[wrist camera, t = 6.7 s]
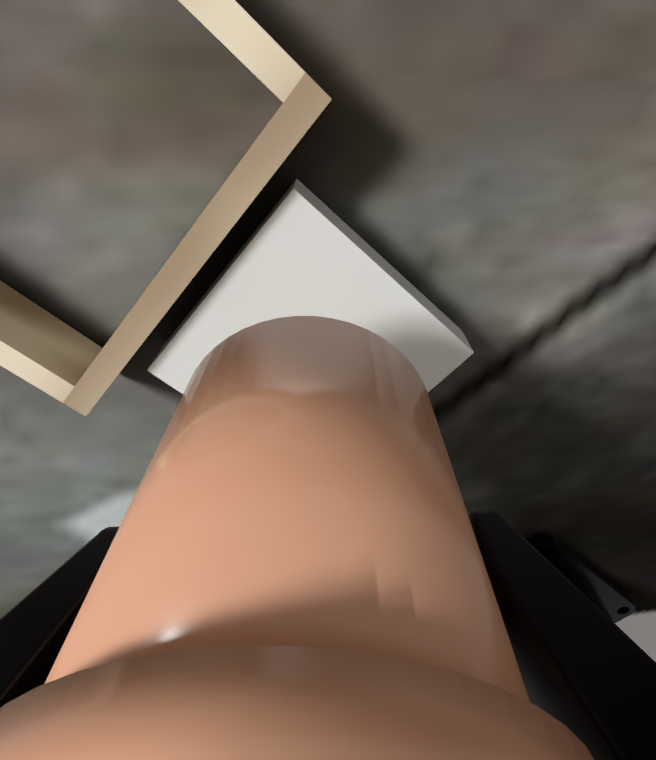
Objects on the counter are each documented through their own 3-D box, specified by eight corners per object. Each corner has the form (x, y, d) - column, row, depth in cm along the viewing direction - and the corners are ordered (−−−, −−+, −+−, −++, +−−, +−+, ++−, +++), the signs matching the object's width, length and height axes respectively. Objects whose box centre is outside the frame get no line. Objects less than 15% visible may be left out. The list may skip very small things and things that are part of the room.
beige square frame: (330, 97, 12) (331, 99, 10) (114, 377, 16) (85, 416, 14) (-123, -366, 9) (-251, -496, 7) (-258, 138, 12) (-363, 147, 11)
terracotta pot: (510, 421, 11) (820, 981, 4) (320, 567, 13) (311, 1076, 7) (287, 226, 9) (145, 700, 2) (108, 440, 11) (-241, 998, 4)
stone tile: (461, 329, 15) (474, 352, 14) (320, 456, 18) (320, 485, 16) (296, 178, 13) (293, 188, 12) (162, 346, 15) (146, 370, 14)
